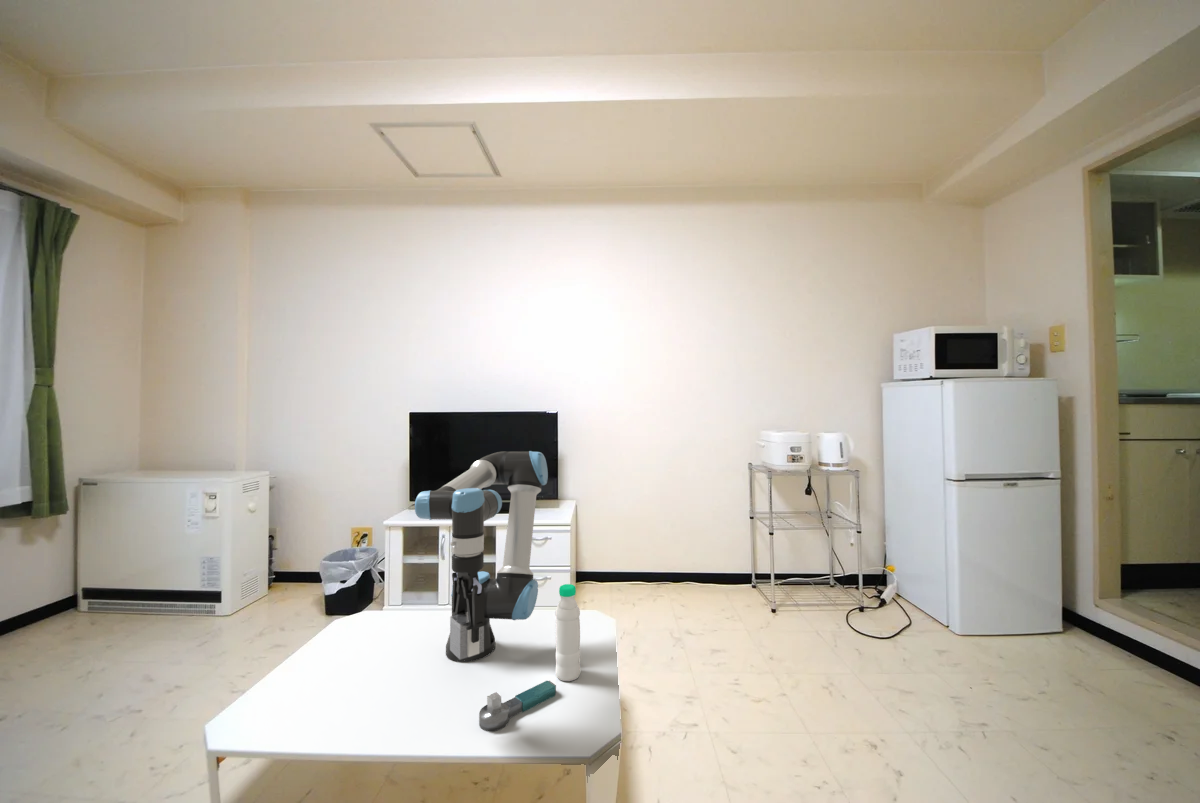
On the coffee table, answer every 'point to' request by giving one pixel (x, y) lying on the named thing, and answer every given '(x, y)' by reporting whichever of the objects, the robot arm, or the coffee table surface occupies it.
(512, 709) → the ratchet
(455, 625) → the grey metal block
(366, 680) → the coffee table surface
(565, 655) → the water bottle
